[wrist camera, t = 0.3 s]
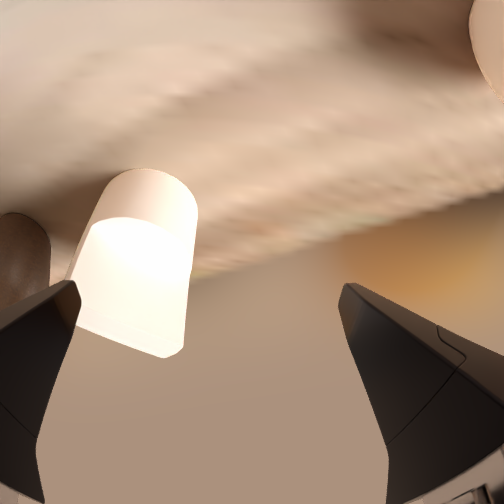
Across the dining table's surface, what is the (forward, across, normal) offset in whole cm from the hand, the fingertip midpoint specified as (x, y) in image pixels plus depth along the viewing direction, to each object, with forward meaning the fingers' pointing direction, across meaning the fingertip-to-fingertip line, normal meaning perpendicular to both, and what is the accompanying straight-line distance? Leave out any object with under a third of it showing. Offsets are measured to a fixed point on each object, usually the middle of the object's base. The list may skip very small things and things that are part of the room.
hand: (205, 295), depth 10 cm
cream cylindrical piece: (+17, -6, -6) cm, 19 cm away
